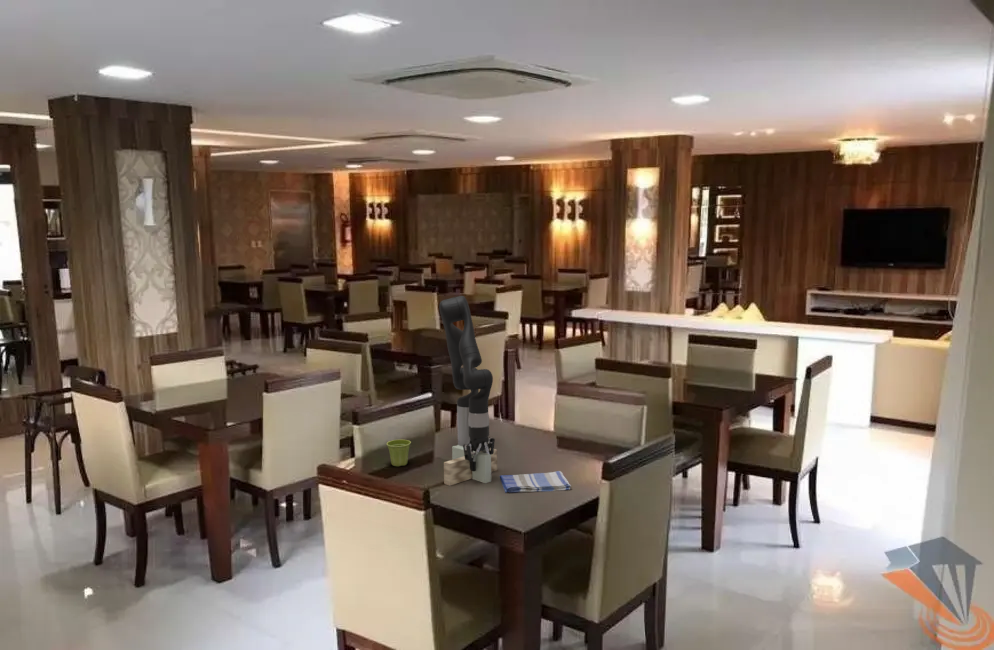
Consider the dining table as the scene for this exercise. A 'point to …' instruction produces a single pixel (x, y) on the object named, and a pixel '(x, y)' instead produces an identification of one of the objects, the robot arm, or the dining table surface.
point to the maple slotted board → (463, 469)
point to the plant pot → (399, 451)
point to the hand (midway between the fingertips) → (479, 468)
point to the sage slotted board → (481, 464)
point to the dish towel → (535, 482)
